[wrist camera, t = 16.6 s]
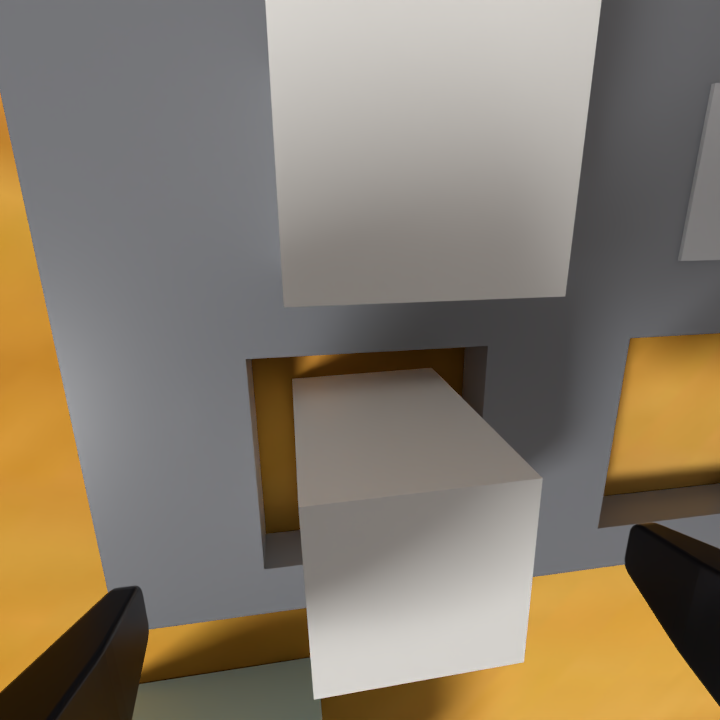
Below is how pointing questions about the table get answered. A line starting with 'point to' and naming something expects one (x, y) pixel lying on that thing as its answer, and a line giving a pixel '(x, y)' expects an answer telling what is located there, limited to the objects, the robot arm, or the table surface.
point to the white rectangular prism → (409, 531)
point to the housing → (233, 695)
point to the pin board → (219, 301)
